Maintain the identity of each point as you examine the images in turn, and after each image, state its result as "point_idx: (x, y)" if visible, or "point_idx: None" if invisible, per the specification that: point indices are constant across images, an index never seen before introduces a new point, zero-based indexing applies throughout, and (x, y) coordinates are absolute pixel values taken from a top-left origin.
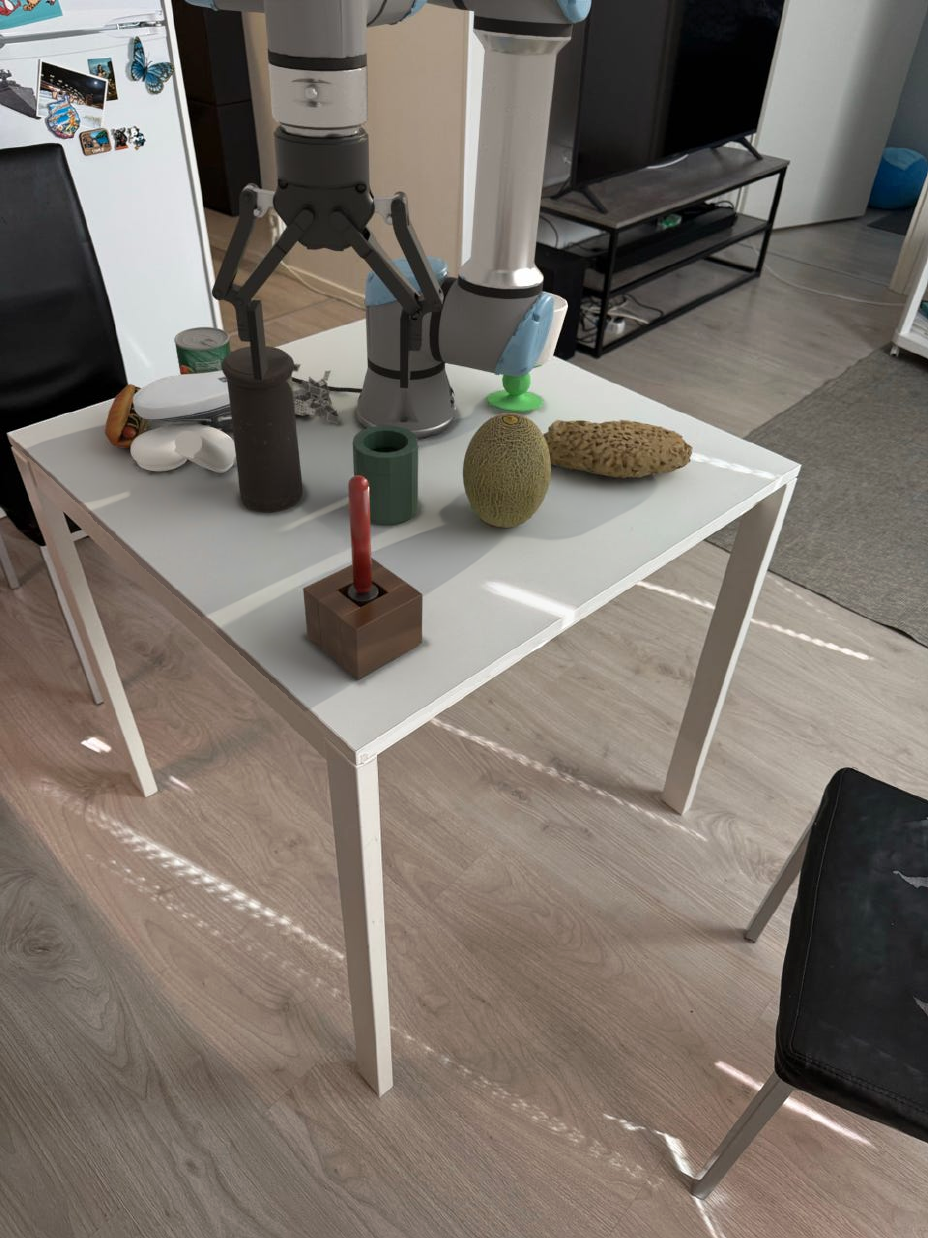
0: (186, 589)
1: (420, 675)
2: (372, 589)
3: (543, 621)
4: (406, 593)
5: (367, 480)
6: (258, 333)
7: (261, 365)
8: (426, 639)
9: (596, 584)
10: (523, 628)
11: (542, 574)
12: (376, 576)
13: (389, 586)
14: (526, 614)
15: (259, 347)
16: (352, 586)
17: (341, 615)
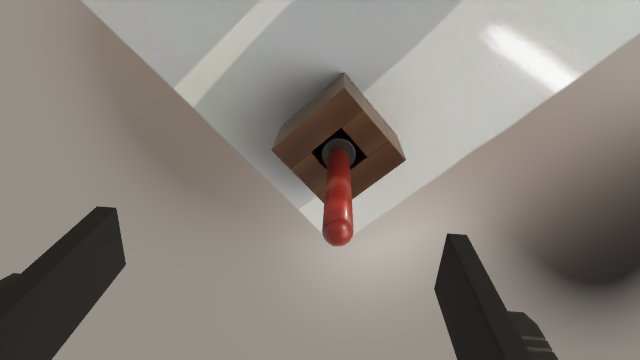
0: (133, 44)
1: (391, 177)
2: (349, 152)
3: (535, 100)
4: (387, 159)
5: (351, 231)
6: (59, 337)
7: (108, 276)
8: (401, 128)
9: (629, 29)
10: (509, 112)
11: (566, 7)
12: (353, 128)
13: (368, 147)
14: (519, 88)
15: (82, 311)
16: (326, 146)
17: (317, 193)
